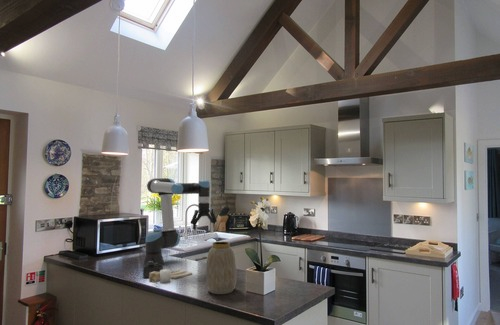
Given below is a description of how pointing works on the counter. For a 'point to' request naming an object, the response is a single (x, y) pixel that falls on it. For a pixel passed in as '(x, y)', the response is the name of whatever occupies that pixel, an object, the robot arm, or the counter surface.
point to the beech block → (154, 276)
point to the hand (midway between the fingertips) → (203, 233)
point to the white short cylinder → (165, 275)
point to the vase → (221, 269)
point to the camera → (151, 268)
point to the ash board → (179, 274)
